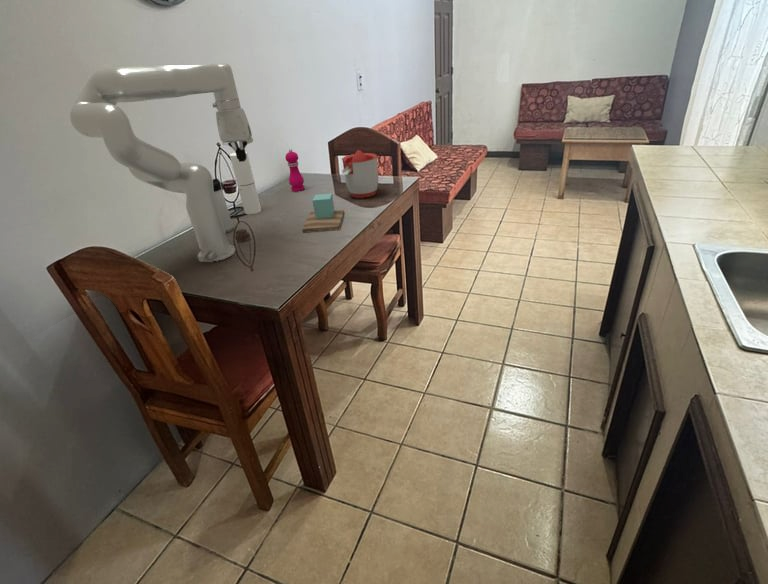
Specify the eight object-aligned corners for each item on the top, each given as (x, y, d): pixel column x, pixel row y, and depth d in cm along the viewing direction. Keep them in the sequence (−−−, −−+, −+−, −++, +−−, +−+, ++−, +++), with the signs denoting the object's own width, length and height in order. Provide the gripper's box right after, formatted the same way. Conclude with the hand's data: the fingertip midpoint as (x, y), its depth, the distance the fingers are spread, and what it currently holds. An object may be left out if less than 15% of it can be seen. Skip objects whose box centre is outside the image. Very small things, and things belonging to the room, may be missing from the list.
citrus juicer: (336, 197, 192) (330, 153, 182) (364, 187, 202) (359, 144, 192) (359, 203, 182) (354, 156, 172) (387, 192, 192) (383, 147, 182)
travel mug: (237, 227, 170) (223, 178, 160) (227, 234, 165) (212, 183, 154) (224, 227, 172) (209, 178, 161) (214, 233, 166) (198, 183, 156)
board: (339, 229, 158) (339, 226, 158) (303, 232, 159) (302, 228, 158) (344, 213, 174) (343, 209, 173) (311, 215, 175) (310, 212, 174)
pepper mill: (288, 192, 206) (279, 150, 196) (295, 187, 212) (287, 146, 202) (301, 192, 204) (293, 150, 194) (307, 187, 210) (300, 146, 200)
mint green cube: (332, 217, 166) (329, 199, 162) (315, 218, 166) (312, 200, 163) (334, 211, 172) (331, 193, 168) (318, 212, 172) (315, 194, 168)
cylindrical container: (256, 214, 182) (242, 155, 169) (242, 214, 184) (226, 156, 171) (264, 208, 188) (250, 151, 175) (249, 208, 190) (234, 151, 177)
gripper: (202, 109, 139) (218, 165, 148) (246, 105, 138) (260, 161, 147) (211, 106, 145) (226, 160, 154) (253, 102, 144) (265, 156, 154)
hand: (242, 160), depth 151 cm, fingers closed
